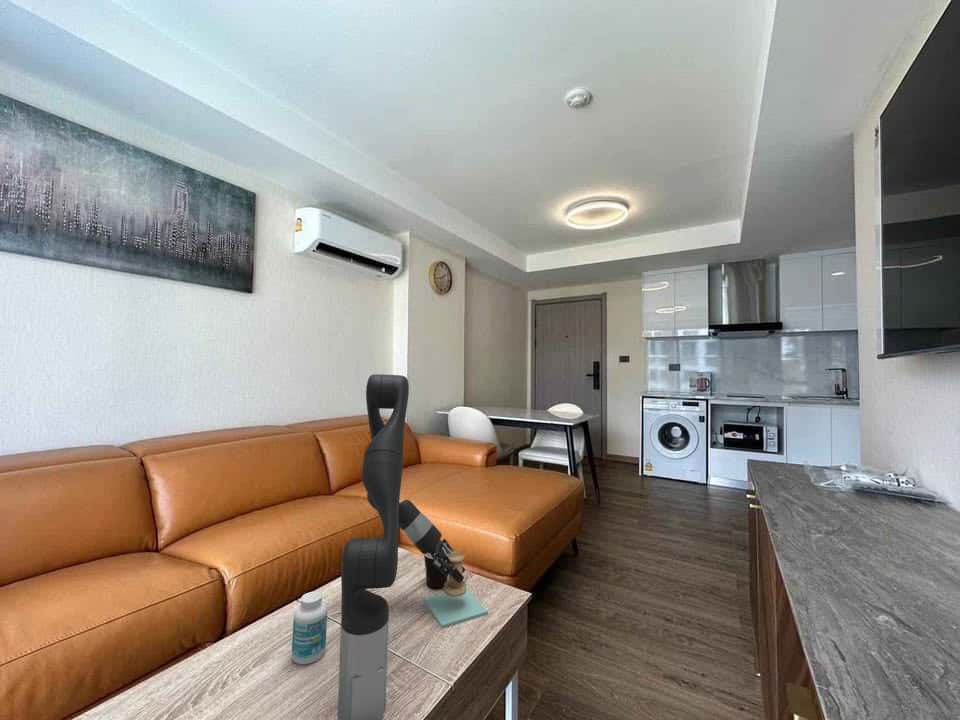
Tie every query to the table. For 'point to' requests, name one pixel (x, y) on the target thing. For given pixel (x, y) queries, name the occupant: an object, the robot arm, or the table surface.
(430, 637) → the table surface
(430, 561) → the coffee mug
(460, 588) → the tan chess pawn
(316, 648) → the pill bottle
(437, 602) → the mat
